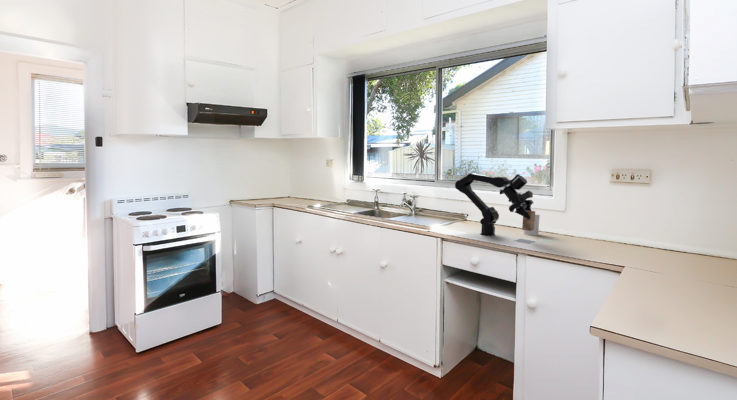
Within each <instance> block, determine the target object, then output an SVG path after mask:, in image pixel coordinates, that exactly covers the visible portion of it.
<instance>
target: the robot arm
mask: <svg viewBox="0 0 737 400" xmlns="http://www.w3.org/2000/svg"><path fill="white" fill-rule="evenodd" d="M474 181H476V182H479V183H480V182H481V183H485V184H490V185H492V186H493V187H495V188H502V189H499V195H505V196H506V198H507V199H508V200H507V201H508V202H509V203H510V202H511V204H510V205H509V206H508V210H509V212H510V213H515V214H518V215H520V216H522V217H523V216H524V217H526V218H527V219H530V216H529V215H528V213H527V211H526V210H528V211H533V210H532V205H533V204H534V201H533V200H532V198H534V197H533V195H534V193H533V192H532V191H531V190H528V191H525V192H523V193H521V192H520V193H518V192H517V191H520V190H521V189H522V188H523V187H524V186H526V185H527V183H528V181H527V179H526V178H525V177H523V176H522V175H521V174H520V173H518V174H516V175H515V176H514V177H513V178H512V179H509V178H508V177H506V176H491V175H484V174H479V173H478V174H477V173H475V172H470V173H468V174H467V175H465V176H464V177H461V178H460V179H458V180H456V181H455V184H454V188H456V190H458V191H459V192H460V193H461V194H464V195H465V196H466V197H467V198H468V199H469V200H470V201H471V202H472V203H473V204H474V206H475V207H477V209H478V210H479V211H480V213H481V215H482V217H483V218H481V219H480V220H479V222H480V225H481V230H480V231H481V232H480V233H479V235H481V236H483V235H484V236H489V237H492V236H495V233H496V227H495V225H496V223H497V221H498V220H499V217H500V216H499V211H497V210H496V209H495V207H494V206H491V207H489V206H488V205H487V204H486V203H485V202H484V200H483V199H481V198H480V197H479V195H477V194H476V192H475V191H474V190H473V189H472V185H471V184H472V183H474Z"/></svg>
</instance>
